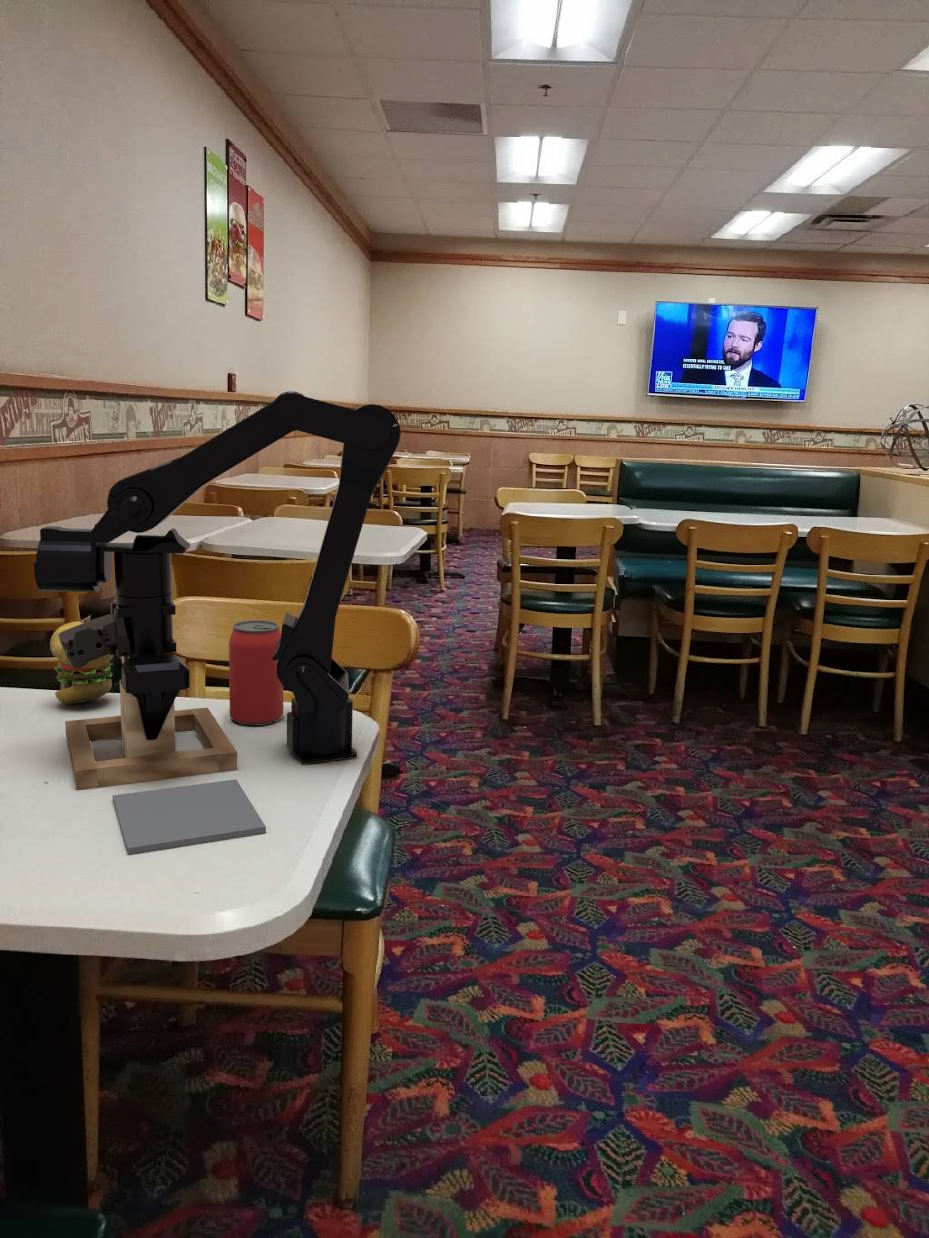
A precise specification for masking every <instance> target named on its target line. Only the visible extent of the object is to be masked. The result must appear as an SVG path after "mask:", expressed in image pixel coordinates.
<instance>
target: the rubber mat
mask: <svg viewBox="0 0 929 1238" xmlns="http://www.w3.org/2000/svg"><path fill="white" fill-rule="evenodd" d="M111 796H112V803H113V806H114V810H115V814H116V818H117V821H118V825H119V829H120V832H121V836H122V838H123V843H124V846H125V850H126V854H127V855H128V856H129V855H133V854H134V855H135V854H139V853H140V854H141V853H145V852H147V853H149V852H153V851H158V850H165V849H172V848H173V849H174V848H178V847H185V846H186V847H187V846H191V845H197V844H204V843H210V842H216V841H217V842H218V841H222V840H223V841H224V840H229V839H235V838H241V837H248V836H249V837H250V836H255V835H262V834H266V833H267V826H266V825H265V823H264V821H263V820H262V818H261V817H260V815H259V814H258V812H257V810H256V809H255V807H254V805H253V804H252V802H251V800H250V799H249V797H248V796H247V794H246V793H245V791H244V789H243V788H242V786H241V784H240V783H239V781H238V780H237V779H236V778H235V779H227V780H220V781H214V782H213V781H212V782H206V783H205V782H203V783H197V784H189V785H188V784H187V785H181V786H174V787H172V786H171V787H166V788H160V789H159V788H158V789H151V790H143V791H137V792H135V791H133V792H128V793H127V792H126V793H121V794H119V793H118V794H112V795H111Z"/></svg>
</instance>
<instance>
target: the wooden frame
mask: <svg viewBox="0 0 929 1238" xmlns="http://www.w3.org/2000/svg"><path fill="white" fill-rule="evenodd" d="M174 711H175V733H180V732H187V731H188V732H190V731H194V732H195V734H196V736H197V737H198V739H199V741H200V742H201V744H202V746H203V748H202V749H193V750H184V751H183V750H182V751H175V752H174V753H165V754H157V755H148V756H139V757H131V758H125V757H124V758H123V757H122V758H116V759H115V758H114V759H107V760H105V759H104V760H98V761H96V758H95V756H94V752H93V748H92V744H91V742H94V741H102V740H112V739H122V731H121V715H116V716H115V715H114V716H106V717H105V716H104V717H95V718H93V717H92V718H86V719H82V718H81V719H73V720H65V721H64V723H65V724H64V725H65V738H66V745H67V749H68V756H69V761H70V764H71V769H72V775H73V779H74V785H75V789H76V790H77V791H78V790H85V789H94V788H101V787H109V786H117V785H125V784H134V783H142V782H148V781H149V782H151V781H157V780H164V779H165V780H166V779H172V778H173V779H175V778H182V777H189V776H198V775H204V774H212V773H220V772H221V773H222V772H228V771H229V772H230V771H237V770H238V751H237V750H236V748H235V747H234V745H233V744H232V742H231V740H230V739H229V738H228V736H227V734H226V733H225V732H224V730H223V727H221V725H220V724H219V723H218V722H219V721H217V720H216V718H215V717H214V715H213V713H212V712H211V710H210V709H209V707H199V708H189V709H178V710H174Z"/></svg>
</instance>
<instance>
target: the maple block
mask: <svg viewBox="0 0 929 1238" xmlns="http://www.w3.org/2000/svg"><path fill="white" fill-rule="evenodd" d="M121 681H122V679H119V695H120V696H119V699H120V700H119V701H120V703H119V704H120V716H121V731H122V738H121V750H122V752H123V754H124V758H131V757H139V756H148V755H157V754H165V753H174V752H176V732H175V711H176V710H175V701H174V702H173V704H172V706H171V709H170V711H169V713H168V715H167V717H166V720H165V722H164V724H163V726H162V729H161V731H160V733H159V735H158V738H157V739H155V740H147V739H146V737H145V732H144V728H143V724H142V720H141V715H140V711H139V707H138V702H137V698H136V697H134V696H133V695H132V694H130V693H126V692H125V690H124V689H123V686H122V684H121Z"/></svg>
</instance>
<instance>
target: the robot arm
mask: <svg viewBox="0 0 929 1238" xmlns="http://www.w3.org/2000/svg"><path fill="white" fill-rule="evenodd" d="M296 431H298V432H302V433H305V434H309V435H313V436H317V437H318V438H319V437H320V438H324V439H327V440H330V441H335V442H338V443H340V444H341V443H342V451H341V459H340V462H341V463H340V469H339V480H338V486H337V490H336V494H335V496H334V500H333V503H332V508H331V511H330V514H329V518H328V521H327V525H326V528H325V532H324V535H323V539H322V542H321V544H320V545H321V546H320V549H319V552H318V556H317V559H316V563H315V566H314V568H313V573H312V576H311V580H310V584H309V587H308V590H307V593H306V594H307V595H306V598H305V601H304V603H303V605H302V607H301V608H300V611H299V612H298V614H297V616H295V615H293V614H291V613H288V612H285V614H284V616H283V620H282V625H281V630H280V633H281V638H280V639H279V640H278V642H277V643H276V646H275V650H274V654H273V658H272V660H273V661H275V660H278V664H277V677H278V679H279V681H280V682H281V684H282V685H283V688H284V689H286V690H287V691H288V692H290V693H292V694H293V696H294V697H292V698H291V711H288V712H287V713H286V748H288V750H289V751H290V752H291V753H292V754H293V755H294V756H295V758H296V759H297V760H298V761H299V762H300V763H301V764H312V763H321V762H329V761H336V760H338V761H339V760H344V759H352V758H353V759H355V758H357V757H358V752H357V751H356V750H355V749H354V747H353V713H354V712H353V710H354V708H353V706H354V702H353V700H352V699H351V698H350V692H349V691H350V690H349V687H350V686H349V673H348V671H346V669H344V667H342V666H341V665H340V664H339V663H338V662H337V660H335V659H334V658H333V649H334V637H335V628H336V619H337V614H338V609H339V606H340V603H341V600H342V596H343V593H344V589H345V588H346V587H345V586H346V584H347V583H346V582H347V579H348V577H349V572H350V568H351V565H352V562H353V559H354V556H355V552H356V549H357V546H358V542H359V539H360V535H361V531H362V529H363V524H364V522H365V518H366V515H367V511H368V508H369V505H370V502H371V498H372V496H373V494H374V493H375V490H376V489H377V488H376V487H377V486H378V485H379V483H380V481H381V479H382V477H383V475H384V474H385V472H386V471H387V468H388V466H389V464H390V462H391V460H392V458H393V456H394V454H395V452H396V450H397V448H398V446H399V444H400V440H401V432H402V431H401V426H400V422H399V421H398V419H397V416H396V415H395V414H394V413H393V412H392V411H391V410H390V409H388V408H387V407H385V406H382V405H380V404H372V403H371V404H364V405H361V406H359V407H358V408H355V409H353V408H349V407H346V406H341V405H339V404H335V403H331V402H326V401H323V400H319V399H314V398H312V397H307V396H305V395H304V394H303V393H300V392H297V391H295V390H294V391H292V390H291V391H285V392H283V393H280V394H279V395H278V396H277V397H276V398H275V399H274V400H273V401H272V402H270V403H269V404H267V405H265V406H263V407H262V408H260V409H258V410H257V411H256V412H254V413H252V414H250V415H249V416H247V417H245V418H244V419H242V420H240V421H238V422H237V423H236V424H234V425H231V426H230V427H229V428H228V429H226V430H224V431H222V432H220V433H218V434H217V435H216V436H214V437H212V438H210V439H208V440H207V441H206V442H204V443H202V444H201V445H199V446H197V447H196V448H194V449H192V450H191V451H189V452H187V453H186V454H183V455H182V456H181V457H178V458H175V459H172V460H169V461H166V462H164V463H161V464H159V465H156V466H153V467H151V468H148V469H145V470H142V471H140V472H137V473H135V474H131V475H129V476H127V477H124V478H122V479H120V480H118V481H117V482H115V483H114V485H112V486H111V488H110V489H109V491H108V495H107V500H106V501H107V502H106V505H107V510H106V511H105V512H104V514H103V515H102V517H100V519H99V520H98V521H97V523H94V525H93V526H94V527H93V528H66V527H62V526H58V525H56V526H55V525H46V526H44V527H41V529H39V537H40V538H39V542H38V544H37V549H36V556H35V560H34V561H33V573H34V578H35V579H34V580H35V583H36V587H37V588H38V590H39V591H40V592H67V593H69V592H72V593H74V592H75V593H77V592H78V593H98V592H100V590H101V589H102V585H103V584H107V583H110V582H111V579H112V574H113V567H114V589H115V590H114V591H115V598H113V601H112V602H110V613H109V614H106V615H103V616H100V617H96V618H93V619H90V621H88V622H85V623H83V624H80V625H77V626H75V627H72V628H70V629H67V630H65V631H63V632H61V633H60V634H59V635H58V636H59V640H60V643H61V645H62V647H63V649H64V651H65V653H66V656H67V658H68V660H69V662H70V664H71V666H72V668H80V667H83V666H85V665H87V663H88V662H90V661H93V660H95V659H98V658H100V657H102V656H105V655H107V654H110V655H114V656H116V655H117V658H112V659H111V663H112V666H113V668H115V669H116V670H117V671H118V672H120V674H121V680H122V681H121V684H122V686H123V689H124V690H125V692H126V693H130V694H132V695H133V696H134V697H136V698H137V702H138V707H139V711H140V715H141V720H142V724H143V728H144V732H145V737H146V739H147V740H155V739H157V738H158V735H159V733H160V731H161V729H162V726H163V724H164V722H165V720H166V717H167V715H168V713H169V711H170V709H171V706H172V704H173V702H174V703H175V700H176V698H177V697H178V694H179V692H180V691H182V690H187V689H189V688H190V687H191V685H190V684H191V682H190V678H191V677H190V676H191V675H190V669H189V667H188V666H187V664H186V663H185V662H184V660H182V658H180V657H179V656H178V655H176V654H175V653H176V652H177V642H176V640H175V638H174V627H173V626H174V625H173V616H175V615H176V604H175V603H174V601H173V584H172V583H173V581H172V554H182V555H183V554H185V553H187V551H188V550H189V549H190V548H191V544H190V542H188V541H187V540H186V539H184V538H183V536H181V535H180V534H179V532H178V530H177V529H176V528H175V527H174V528H173V527H172V528H171V529H169V530H168V532H167V533H166V534H165V535H158V534H157V535H155V534H153V535H152V534H149V535H148V534H140V533H145V532H148V531H150V530H153V529H154V528H156V527H157V526H159V525H160V524H162V523H164V522H165V521H166V520H167V519H169V517H170V516H172V515H173V514H175V512H177V510H178V509H180V508H181V507H182V506H183V505H184V504H185V503H187V502H188V501H189V500H190V499H191V498H192V497H193V496H194V495H195V494H196V493H197V492H198V491H200V490H201V489H202V488H203V487H204V486H205V485H207V484H208V483H209V482H211V481H212V480H215V479H216V478H217V477H220V476H222V475H223V474H224V473H226V472H227V471H230V470H231V469H233V468H234V467H236V466H238V465H239V464H241V463H243V462H244V461H246V460H247V459H249V458H251V457H252V456H254V455H256V454H258V453H260V452H261V451H263V450H264V449H266V448H268V447H270V446H271V445H273V444H274V443H275V442H277V441H279V440H280V439H282V438H284V437H286V436H288V435H289V434H291V433H292V432H296ZM128 532H132V533H136V534H137V535H135V537H134V539H133V542H113V541H115V540H116V539H118V538H119V537H122V536H123V535H125V534H126V533H128ZM112 553H113V554H112ZM112 555H113V557H112ZM113 563H114V564H113ZM113 565H114V566H113ZM166 653H173V654H166Z"/></svg>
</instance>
